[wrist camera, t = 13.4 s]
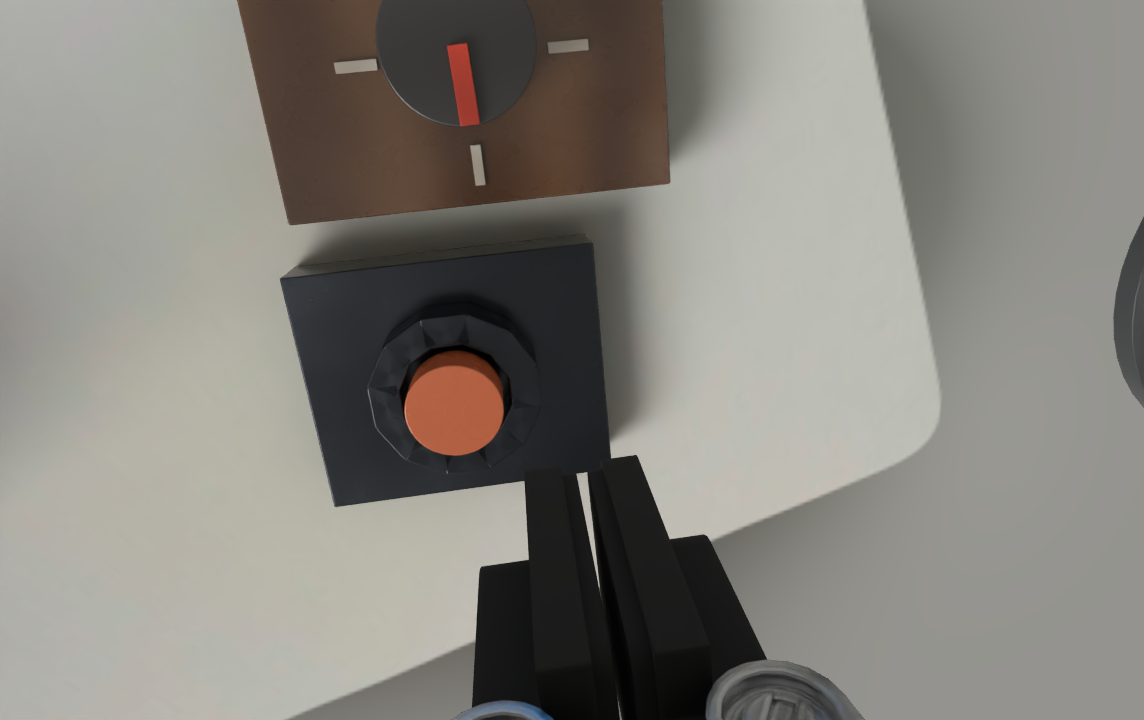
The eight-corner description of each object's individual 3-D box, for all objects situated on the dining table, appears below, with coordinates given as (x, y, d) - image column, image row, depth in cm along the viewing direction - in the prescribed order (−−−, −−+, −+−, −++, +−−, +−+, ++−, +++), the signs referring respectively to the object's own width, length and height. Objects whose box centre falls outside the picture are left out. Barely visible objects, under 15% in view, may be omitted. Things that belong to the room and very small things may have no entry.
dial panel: (638, -105, 26) (657, -133, 23) (653, 177, 29) (671, 184, 26) (245, -73, 25) (212, -99, 22) (308, 214, 28) (287, 226, 25)
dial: (385, -8, 23) (356, -40, 18) (517, -24, 23) (525, -60, 18) (411, 132, 25) (392, 137, 20) (536, 115, 25) (548, 116, 20)
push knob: (496, 344, 27) (497, 359, 25) (508, 429, 28) (509, 449, 27) (401, 356, 27) (396, 372, 25) (417, 441, 28) (413, 461, 26)
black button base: (585, 233, 30) (599, 251, 26) (604, 446, 33) (619, 489, 29) (294, 266, 29) (264, 289, 25) (344, 482, 32) (325, 531, 28)
